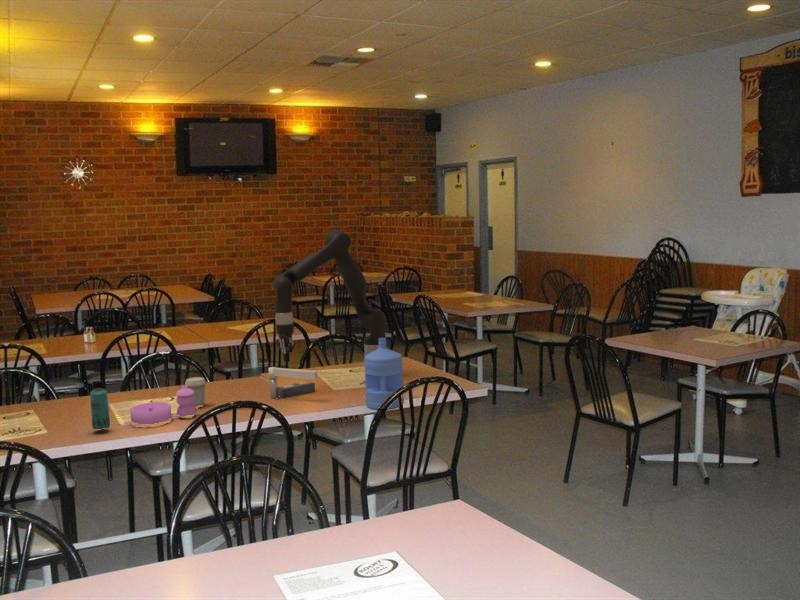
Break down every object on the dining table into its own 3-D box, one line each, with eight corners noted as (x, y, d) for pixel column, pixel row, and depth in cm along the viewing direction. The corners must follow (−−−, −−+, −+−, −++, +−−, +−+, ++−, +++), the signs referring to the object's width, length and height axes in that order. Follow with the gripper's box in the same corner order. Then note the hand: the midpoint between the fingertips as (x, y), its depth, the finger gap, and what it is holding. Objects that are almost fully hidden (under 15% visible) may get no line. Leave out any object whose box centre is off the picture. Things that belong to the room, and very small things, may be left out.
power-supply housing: (284, 398, 342) (283, 388, 341) (277, 396, 346) (276, 386, 346) (315, 391, 352) (314, 382, 351) (308, 389, 356) (307, 380, 356)
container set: (133, 430, 303) (130, 397, 301) (129, 420, 317) (127, 388, 315) (199, 421, 313) (197, 388, 311) (193, 411, 327) (190, 380, 325)
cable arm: (267, 378, 340) (266, 368, 340) (272, 376, 343) (271, 366, 343) (314, 382, 330) (313, 372, 329) (318, 380, 333) (318, 370, 332)
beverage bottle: (95, 430, 305) (90, 379, 302) (113, 428, 306) (108, 378, 303) (90, 435, 299) (85, 383, 296) (108, 434, 299) (103, 382, 296)
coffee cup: (182, 408, 331) (180, 381, 330) (194, 403, 339) (192, 376, 337) (199, 410, 328) (197, 382, 326) (211, 404, 336) (209, 377, 334)
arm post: (272, 397, 344) (270, 377, 343) (278, 397, 344) (277, 377, 342) (270, 399, 341) (268, 379, 340) (277, 399, 341) (275, 379, 339)
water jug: (367, 400, 333) (364, 335, 329) (404, 399, 332) (402, 334, 328) (364, 411, 318) (361, 342, 314) (403, 410, 317) (400, 341, 313)
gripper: (300, 323, 339) (302, 362, 342) (284, 319, 350) (286, 358, 352) (284, 325, 335) (287, 365, 337) (269, 322, 345) (271, 360, 347)
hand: (286, 361), depth 345 cm, fingers closed
